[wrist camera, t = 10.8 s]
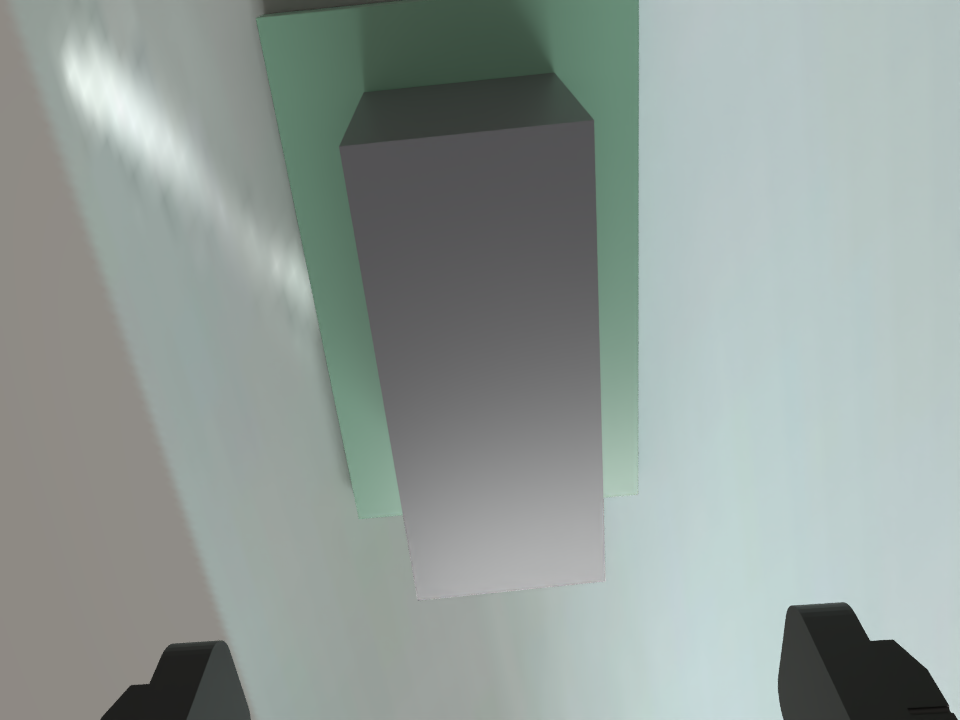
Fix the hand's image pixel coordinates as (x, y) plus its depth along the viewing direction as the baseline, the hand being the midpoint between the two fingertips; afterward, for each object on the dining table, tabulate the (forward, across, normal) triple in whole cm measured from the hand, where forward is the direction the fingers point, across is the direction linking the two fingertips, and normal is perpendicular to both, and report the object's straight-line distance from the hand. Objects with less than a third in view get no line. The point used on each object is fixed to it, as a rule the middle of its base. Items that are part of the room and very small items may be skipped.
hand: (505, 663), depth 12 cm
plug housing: (+14, 0, 0) cm, 14 cm away
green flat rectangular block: (+15, 0, 0) cm, 15 cm away
